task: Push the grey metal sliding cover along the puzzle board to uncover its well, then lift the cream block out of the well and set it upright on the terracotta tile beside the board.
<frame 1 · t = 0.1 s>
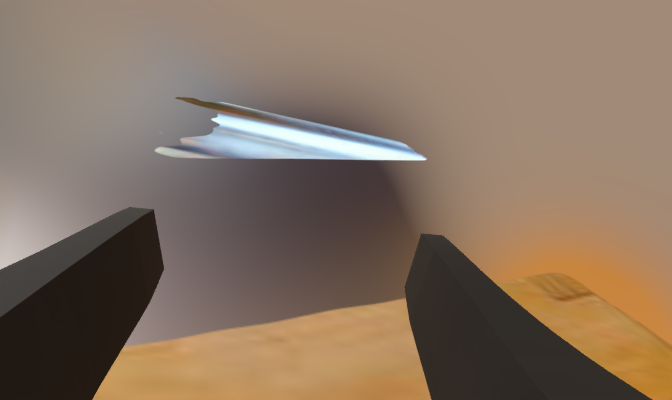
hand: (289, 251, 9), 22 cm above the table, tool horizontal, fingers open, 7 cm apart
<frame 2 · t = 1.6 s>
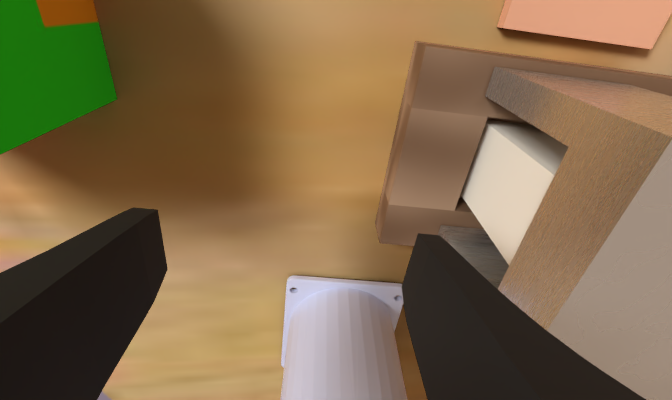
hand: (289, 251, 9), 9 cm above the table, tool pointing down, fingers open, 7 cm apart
sliding cover: (573, 222, 13), point 6 cm above the table, slide at 0.0 cm
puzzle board: (570, 164, 19), on the table
cream block: (505, 160, 18), resting on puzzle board
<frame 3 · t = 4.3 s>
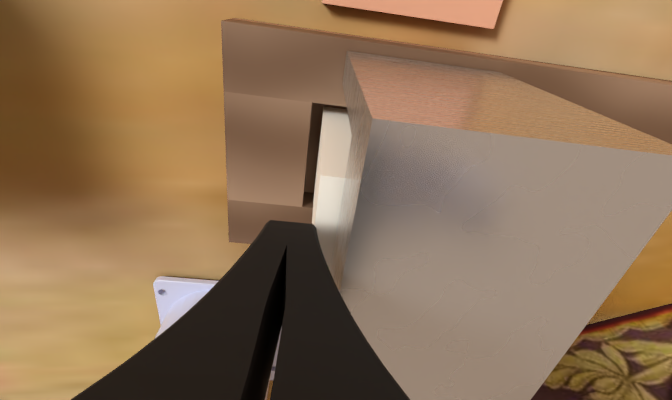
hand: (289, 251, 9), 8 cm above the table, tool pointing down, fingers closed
sliding cover: (420, 223, 12), point 6 cm above the table, slide at 1.6 cm, touching gripper
decorative box: (628, 378, 28), on the table
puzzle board: (436, 157, 17), on the table
cream block: (359, 152, 16), resting on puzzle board
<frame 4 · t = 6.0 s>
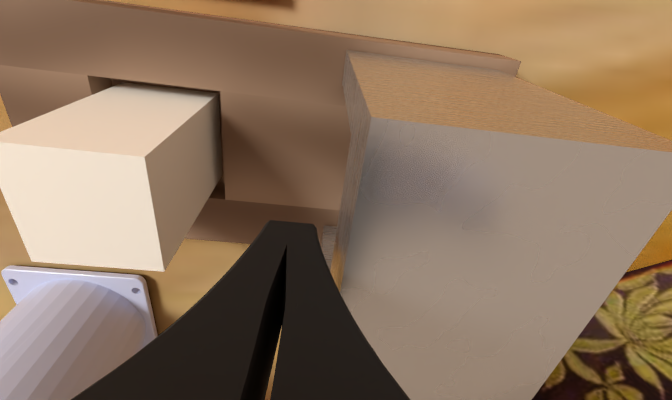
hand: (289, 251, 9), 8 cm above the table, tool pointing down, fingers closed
sliding cover: (420, 222, 12), point 6 cm above the table, slide at 10.2 cm, touching gripper
decorative box: (534, 371, 27), on the table
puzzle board: (265, 137, 17), on the table
cream block: (176, 131, 16), resting on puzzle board
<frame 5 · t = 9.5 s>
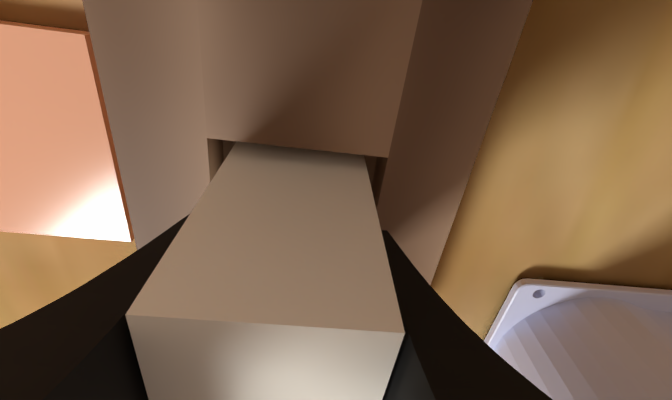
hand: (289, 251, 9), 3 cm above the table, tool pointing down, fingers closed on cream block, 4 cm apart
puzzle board: (307, 77, 10), on the table
terracotta tile: (26, 138, 11), on the table
cream block: (297, 198, 12), resting on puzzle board, touching gripper
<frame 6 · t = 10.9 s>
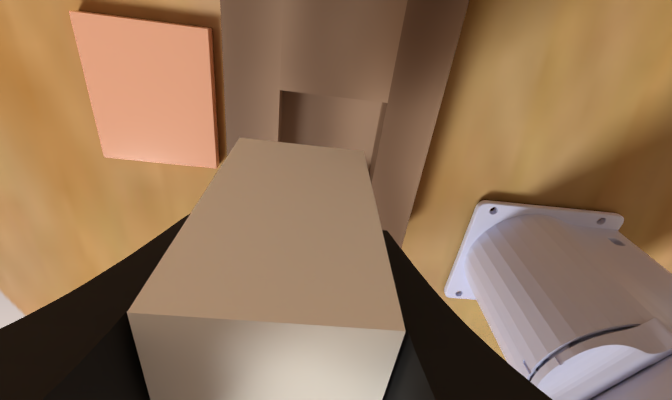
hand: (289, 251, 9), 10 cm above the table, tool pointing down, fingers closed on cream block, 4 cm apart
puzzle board: (337, 55, 17), on the table
terracotta tile: (156, 96, 17), on the table
cream block: (298, 197, 12), point 8 cm above the table, touching gripper
when the fingers open (5 cm above the table, at t = 12.7 s): cream block drops 2 cm, resting on terracotta tile.
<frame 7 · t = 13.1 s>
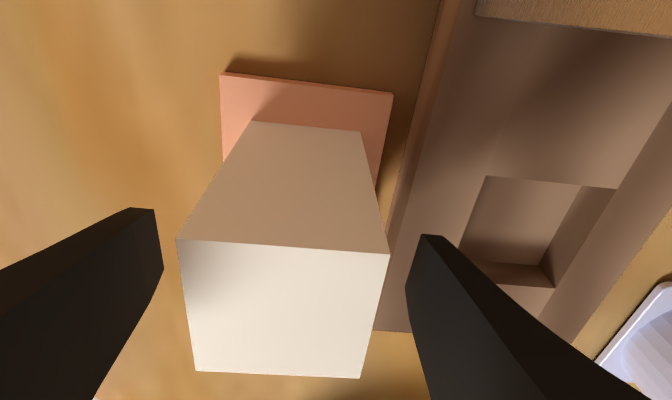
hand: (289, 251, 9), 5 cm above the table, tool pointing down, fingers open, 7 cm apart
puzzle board: (540, 124, 13), on the table
terracotta tile: (301, 170, 14), on the table
cream block: (302, 175, 13), point 1 cm above the table, touching terracotta tile
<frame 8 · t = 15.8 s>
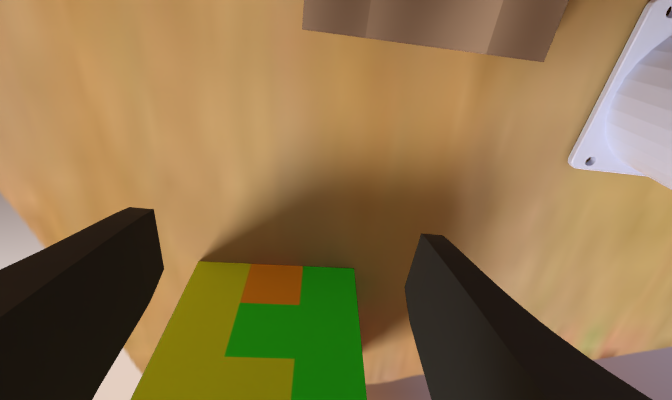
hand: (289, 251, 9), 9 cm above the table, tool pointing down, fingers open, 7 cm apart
puzzle toy: (278, 314, 25), on the table
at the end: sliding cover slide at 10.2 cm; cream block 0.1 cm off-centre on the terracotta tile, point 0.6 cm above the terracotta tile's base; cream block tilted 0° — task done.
